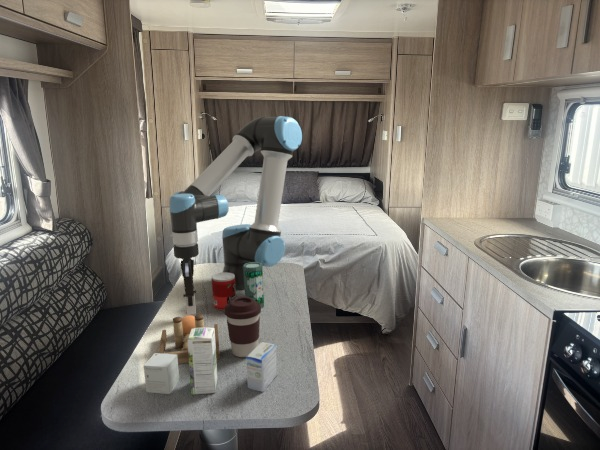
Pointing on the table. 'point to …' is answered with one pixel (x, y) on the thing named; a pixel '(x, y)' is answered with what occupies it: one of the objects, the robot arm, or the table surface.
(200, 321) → the rear pin
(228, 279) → the canned food
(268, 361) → the medicine box
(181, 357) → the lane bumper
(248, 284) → the can
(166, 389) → the product box
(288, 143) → the robot arm
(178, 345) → the rear pin
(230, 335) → the coffee cup
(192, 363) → the syrup box
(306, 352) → the table surface
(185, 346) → the front pin
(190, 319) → the ball
